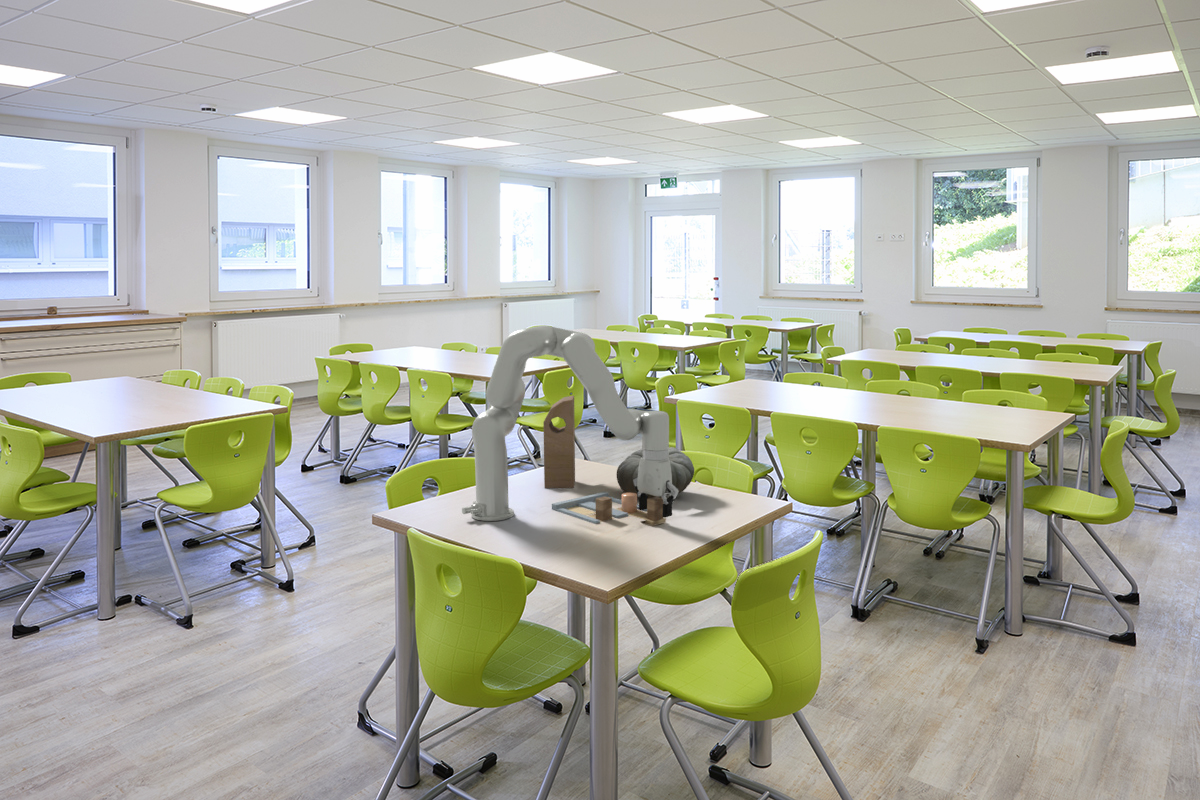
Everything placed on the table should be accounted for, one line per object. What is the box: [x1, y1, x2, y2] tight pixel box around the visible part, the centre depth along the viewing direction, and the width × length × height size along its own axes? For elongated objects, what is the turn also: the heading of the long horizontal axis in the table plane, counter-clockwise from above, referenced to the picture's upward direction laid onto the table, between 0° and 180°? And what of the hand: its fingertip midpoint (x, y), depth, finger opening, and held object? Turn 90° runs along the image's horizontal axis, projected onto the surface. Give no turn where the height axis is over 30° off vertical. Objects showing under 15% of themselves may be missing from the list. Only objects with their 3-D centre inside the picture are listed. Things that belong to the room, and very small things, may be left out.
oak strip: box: [616, 497, 667, 527], centre depth 249 cm, size 5×17×7 cm, turn 41°
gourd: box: [616, 446, 695, 500], centre depth 272 cm, size 25×25×17 cm
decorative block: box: [542, 395, 576, 489], centre depth 287 cm, size 10×10×30 cm
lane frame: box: [551, 491, 647, 525], centre depth 254 cm, size 21×20×3 cm
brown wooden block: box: [587, 497, 614, 523], centre depth 245 cm, size 5×7×7 cm
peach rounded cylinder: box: [621, 492, 638, 513], centre depth 252 cm, size 5×5×5 cm
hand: (655, 512), depth 244 cm, fingers open, 9 cm apart
